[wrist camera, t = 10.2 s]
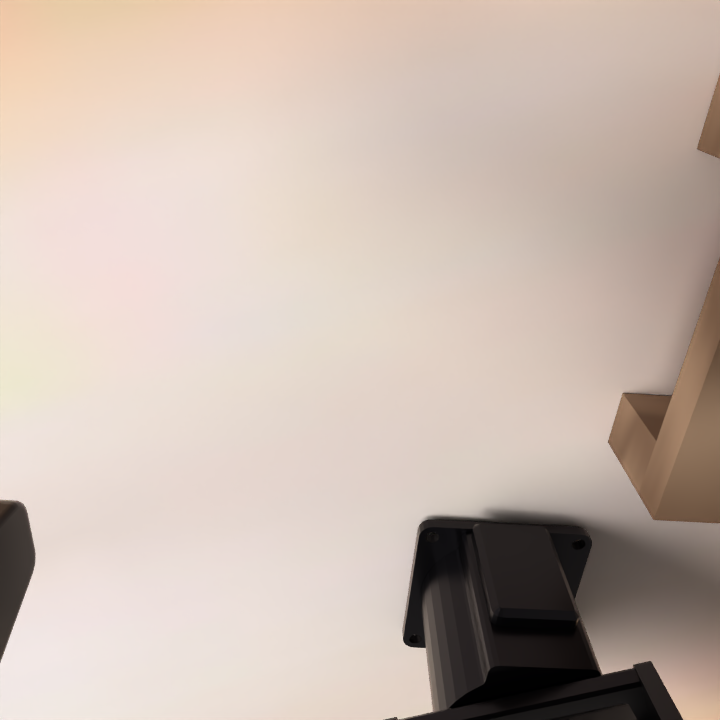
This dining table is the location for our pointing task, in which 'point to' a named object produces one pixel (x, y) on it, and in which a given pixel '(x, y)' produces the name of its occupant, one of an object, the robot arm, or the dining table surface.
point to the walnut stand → (680, 412)
